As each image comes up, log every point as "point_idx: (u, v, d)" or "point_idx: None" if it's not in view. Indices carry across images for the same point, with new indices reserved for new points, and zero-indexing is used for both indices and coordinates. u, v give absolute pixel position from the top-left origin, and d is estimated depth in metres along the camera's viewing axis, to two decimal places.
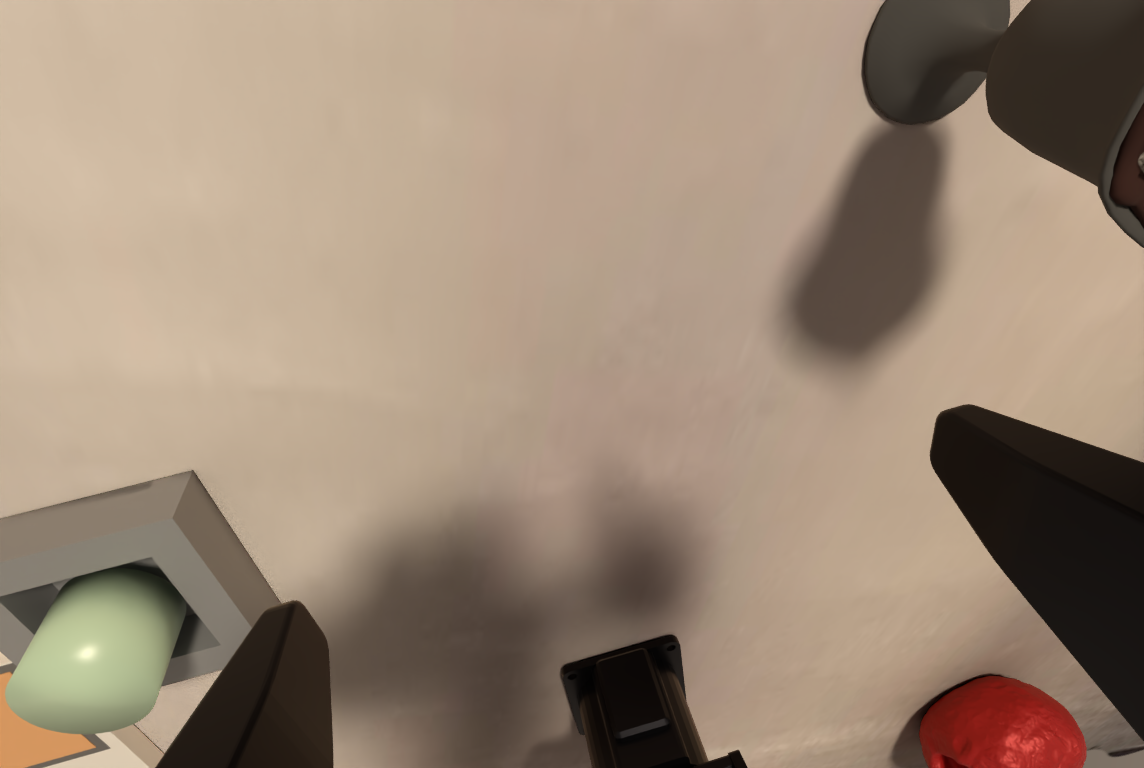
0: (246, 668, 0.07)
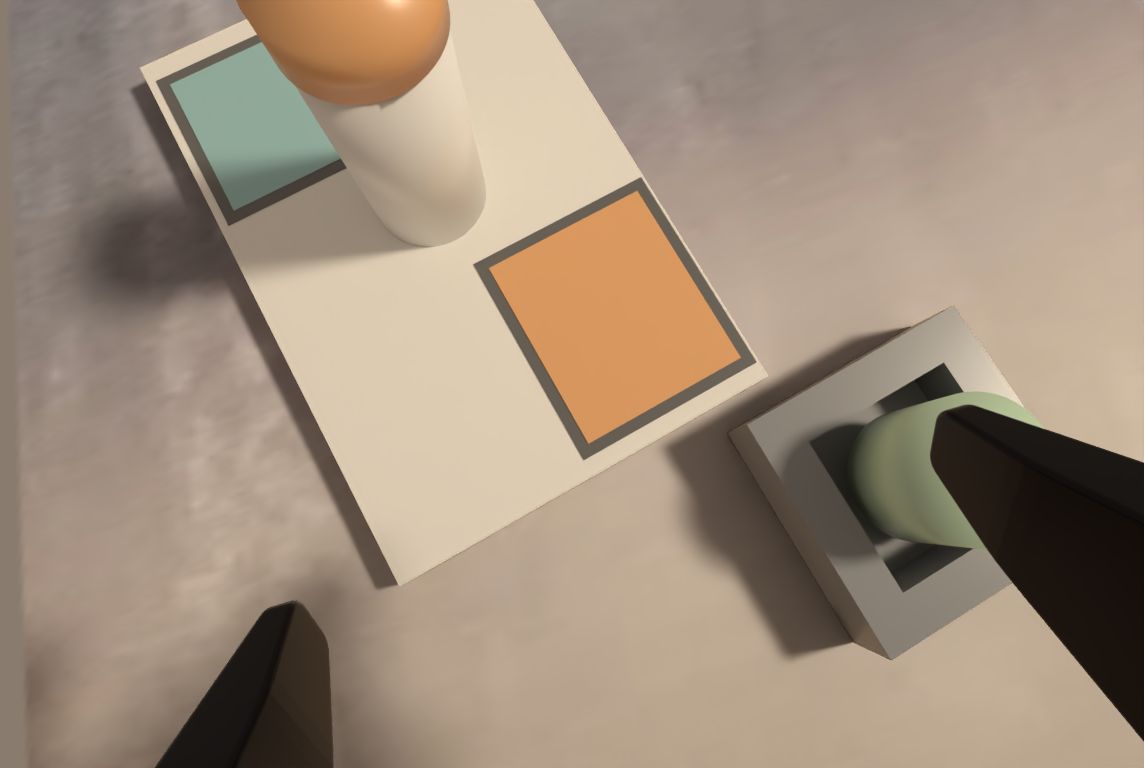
0: (246, 668, 0.07)
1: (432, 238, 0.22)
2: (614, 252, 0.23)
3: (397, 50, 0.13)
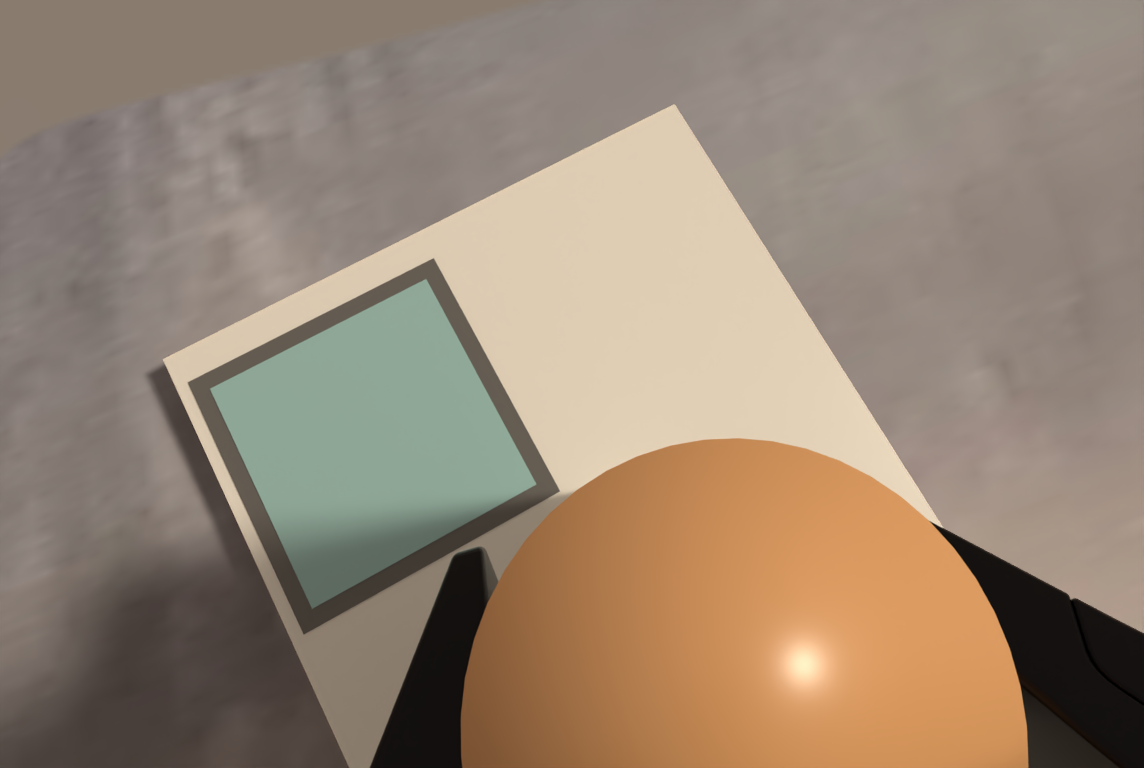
0: (458, 605, 0.07)
1: None
2: None
3: None
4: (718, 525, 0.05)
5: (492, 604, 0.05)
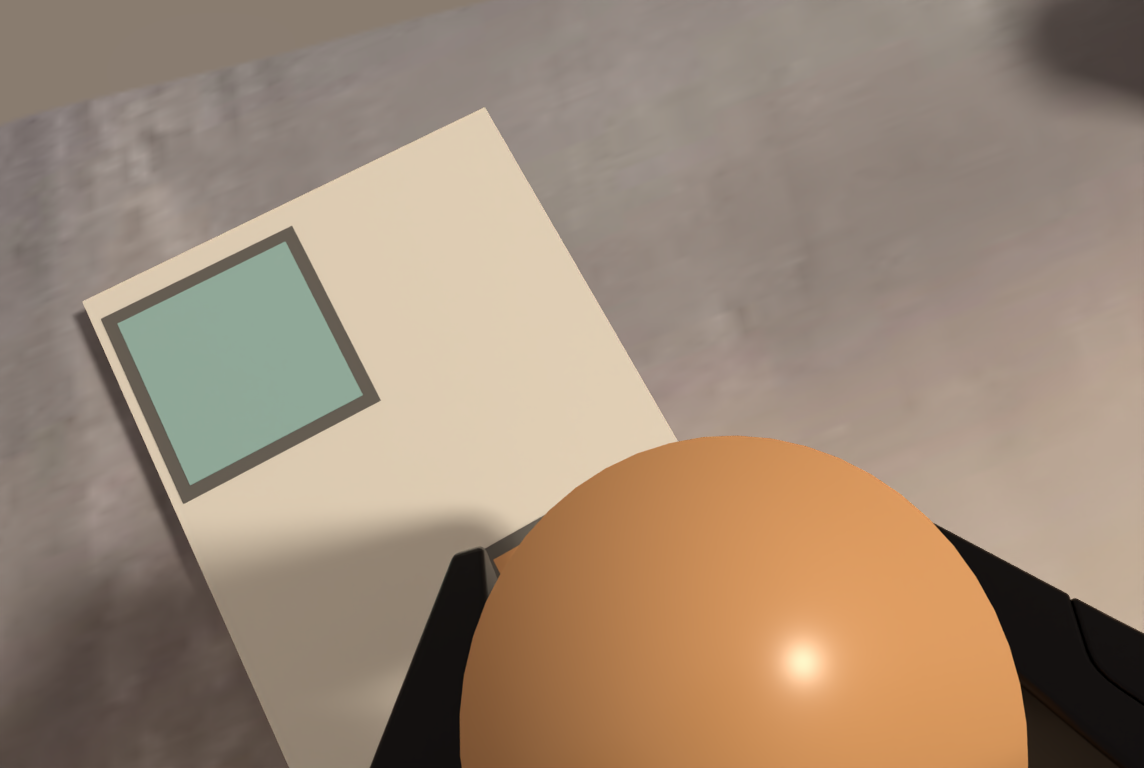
0: (458, 605, 0.07)
1: None
2: None
3: None
4: (717, 523, 0.05)
5: (491, 602, 0.05)
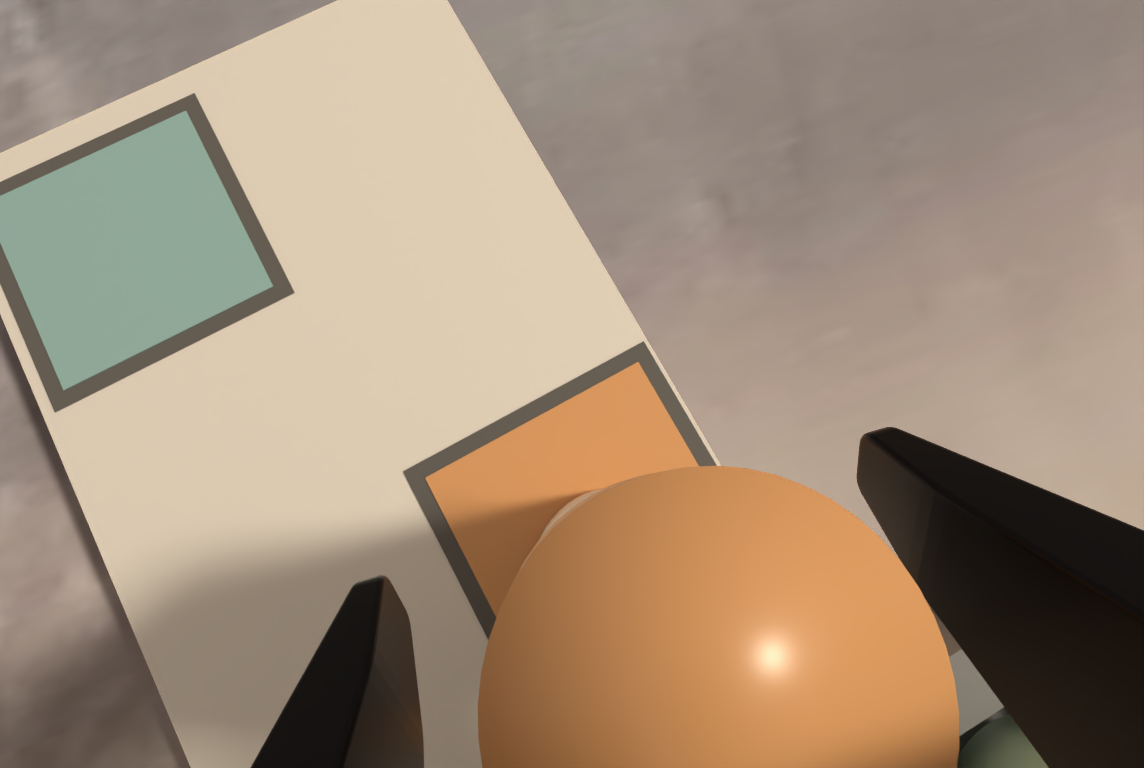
0: (346, 638, 0.07)
1: None
2: (604, 454, 0.16)
3: None
4: (698, 541, 0.06)
5: (504, 609, 0.06)
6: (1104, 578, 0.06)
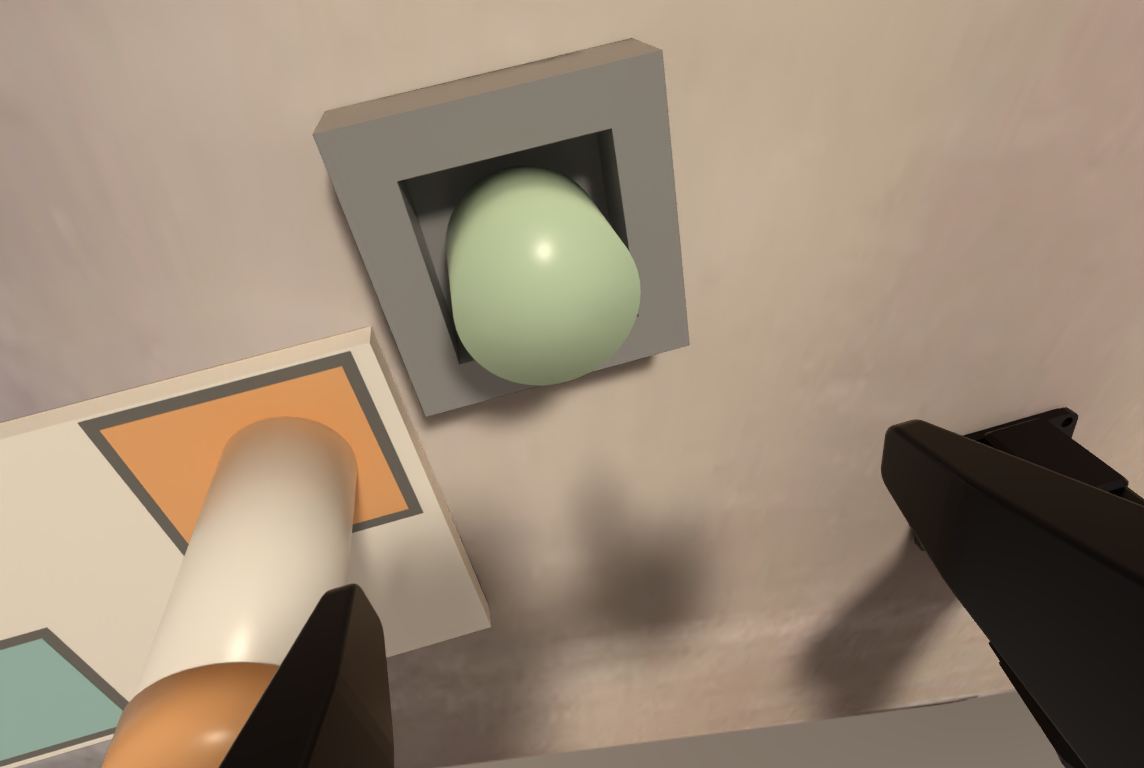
0: (313, 648, 0.07)
1: (355, 481, 0.21)
2: (190, 462, 0.20)
3: None
4: None
5: None
6: (1141, 566, 0.06)
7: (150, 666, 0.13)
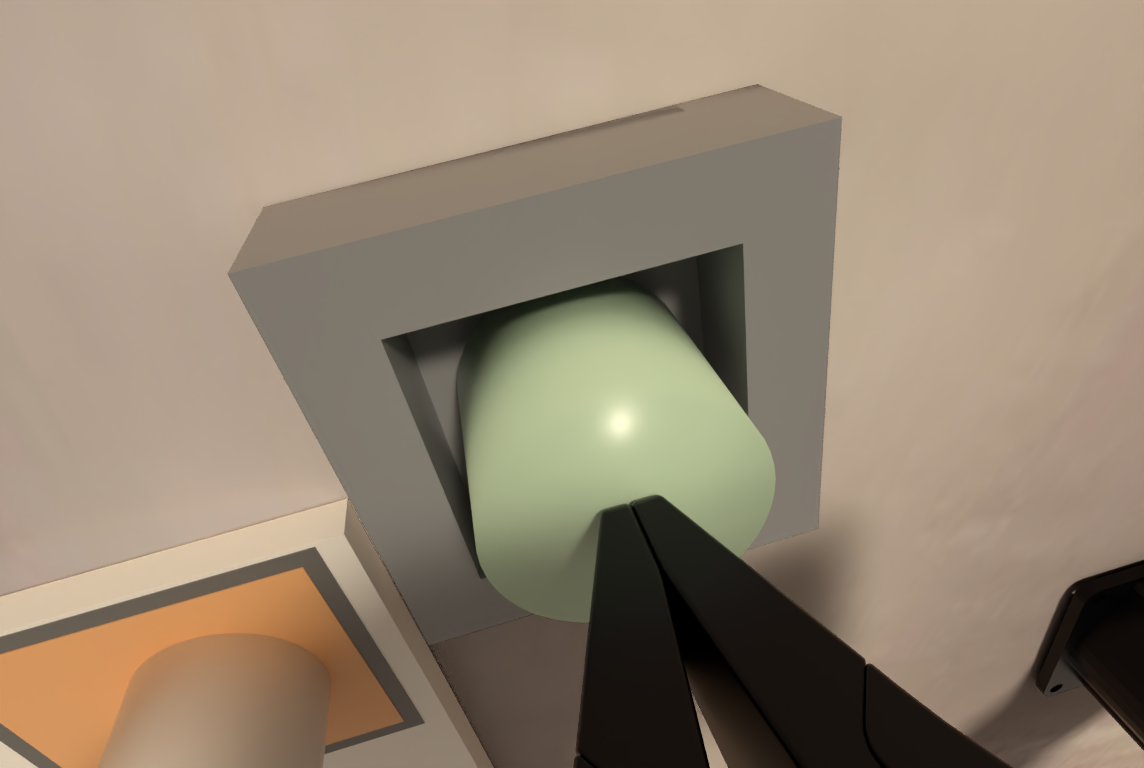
0: (624, 556, 0.08)
1: (327, 710, 0.14)
2: (82, 698, 0.13)
3: None
4: None
5: None
6: (764, 685, 0.06)
7: None
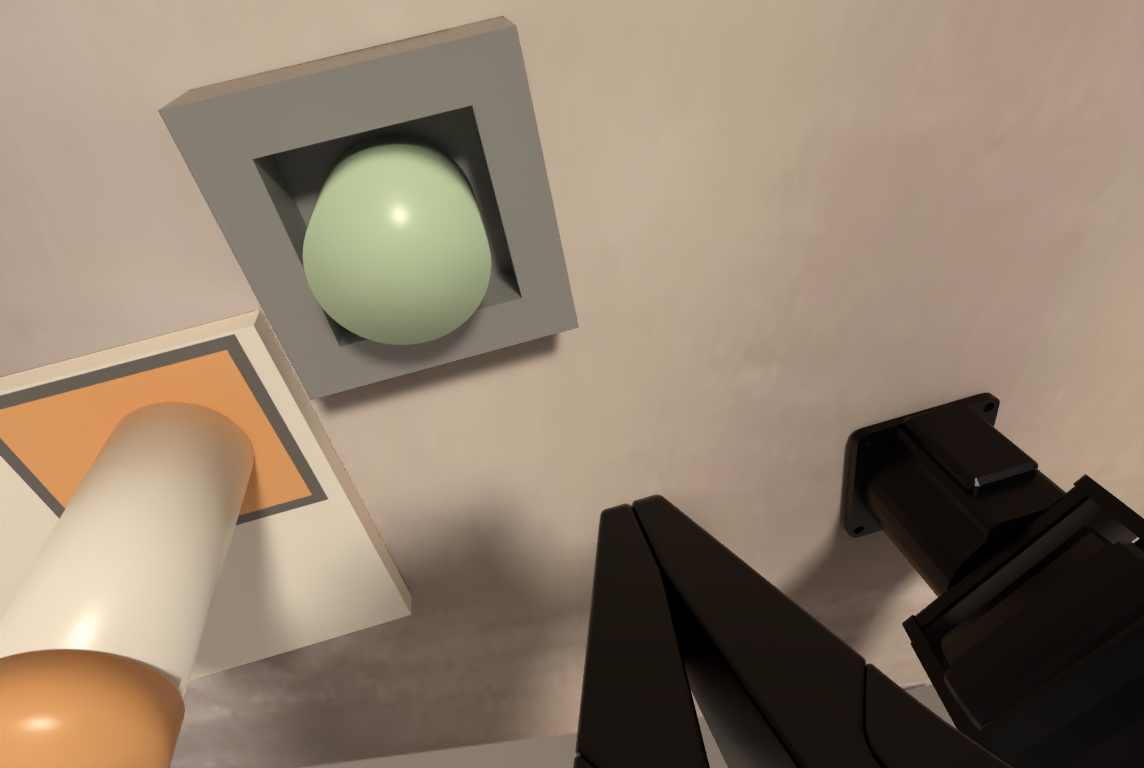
0: (623, 555, 0.08)
1: (249, 466, 0.20)
2: (79, 448, 0.20)
3: (141, 734, 0.13)
4: None
5: None
6: (764, 685, 0.06)
7: None
